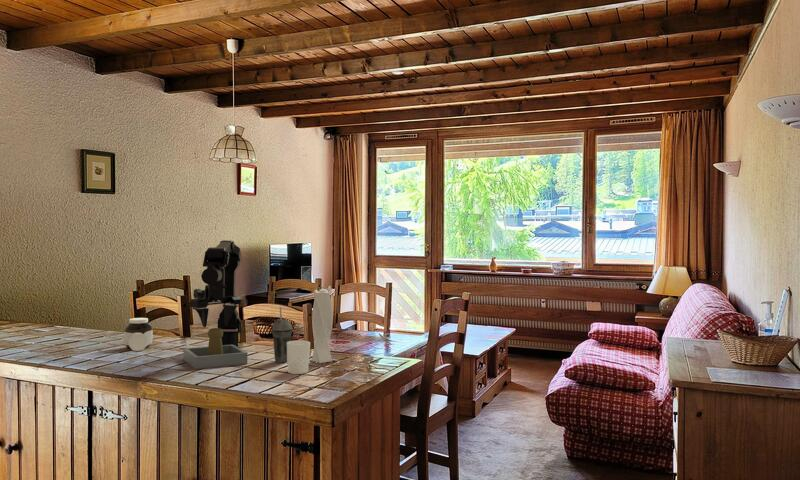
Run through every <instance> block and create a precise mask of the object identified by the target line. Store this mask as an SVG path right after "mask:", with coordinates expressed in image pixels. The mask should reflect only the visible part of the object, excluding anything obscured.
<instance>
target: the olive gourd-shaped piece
mask: <svg viewBox="0 0 800 480" xmlns="http://www.w3.org/2000/svg"><path fill="white" fill-rule="evenodd" d="M207 335H208V338H209V339H208V345H207V347H208V351H207V356H208V355H220V354H223V347H222V339H221V337H222V336H223V330H222V329H220V328H218V327H212V328H210V329H208V331H207Z"/></svg>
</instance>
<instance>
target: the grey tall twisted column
mask: <svg viewBox="0 0 800 480" xmlns="http://www.w3.org/2000/svg"><path fill="white" fill-rule="evenodd" d="M318 290H319V291H318ZM318 290H317V289H315V290H314V292H313V293H314V301H313V306H312V314H311V315H312V316H311V322H312V323H311V325H312V333H313V340H314V349H313V352H312V356H311V359H309V360H310V361H309V362H311V361H314V362H317V363H316V364H318V363H320V364H319V365H322V364H321V363H325V362H329V361H332V360H333V359H332V355H331V354H332V353H331V349H330V344H329V343H330V339H331V335H332V330H333V329H332V328H333V321H334V319H333V318H334V317H333V316H334V315H333V313H334V312H333V305H332V297H331V294H332V286H331V285H329V286H328V287H327V289H326V288H325V289H322V288H321V289H318ZM314 362H313V363H314ZM325 364H326V363H325Z"/></svg>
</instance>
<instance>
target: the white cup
mask: <svg viewBox="0 0 800 480" xmlns="http://www.w3.org/2000/svg"><path fill="white" fill-rule="evenodd" d="M310 354H311V341H309V340H300V339H298V340H290V341H289V342H287V362H286V363H287V372H288V374H290V375H291V374H292V375H303V374H308V372H309V364H310V361H309V360H310Z"/></svg>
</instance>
